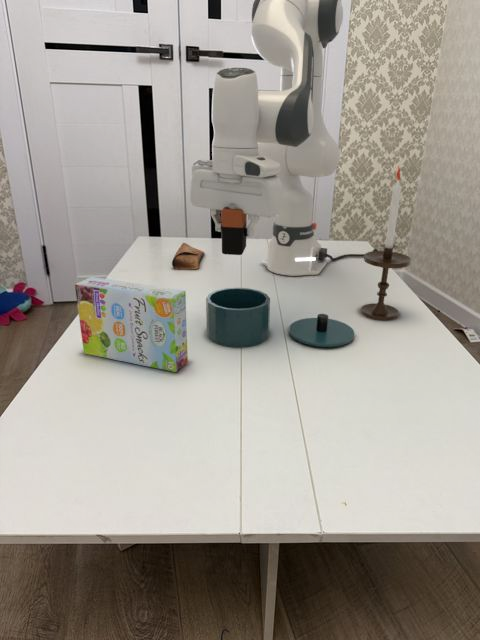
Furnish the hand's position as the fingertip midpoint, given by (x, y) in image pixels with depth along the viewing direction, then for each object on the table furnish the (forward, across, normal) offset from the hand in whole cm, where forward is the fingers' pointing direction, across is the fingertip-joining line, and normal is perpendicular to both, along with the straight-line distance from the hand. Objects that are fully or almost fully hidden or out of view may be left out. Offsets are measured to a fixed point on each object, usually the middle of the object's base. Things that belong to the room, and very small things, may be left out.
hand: (234, 233), depth 104 cm
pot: (+22, +2, -1) cm, 22 cm away
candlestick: (+22, +24, +29) cm, 44 cm away
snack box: (+22, -9, -22) cm, 33 cm away
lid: (+22, +18, +9) cm, 29 cm away
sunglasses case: (+22, -41, +38) cm, 60 cm away
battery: (+4, 0, 0) cm, 4 cm away
